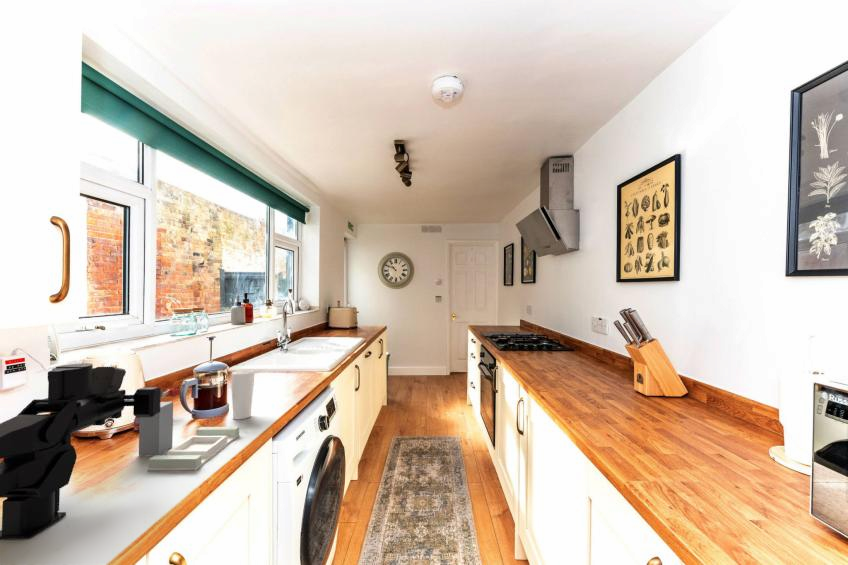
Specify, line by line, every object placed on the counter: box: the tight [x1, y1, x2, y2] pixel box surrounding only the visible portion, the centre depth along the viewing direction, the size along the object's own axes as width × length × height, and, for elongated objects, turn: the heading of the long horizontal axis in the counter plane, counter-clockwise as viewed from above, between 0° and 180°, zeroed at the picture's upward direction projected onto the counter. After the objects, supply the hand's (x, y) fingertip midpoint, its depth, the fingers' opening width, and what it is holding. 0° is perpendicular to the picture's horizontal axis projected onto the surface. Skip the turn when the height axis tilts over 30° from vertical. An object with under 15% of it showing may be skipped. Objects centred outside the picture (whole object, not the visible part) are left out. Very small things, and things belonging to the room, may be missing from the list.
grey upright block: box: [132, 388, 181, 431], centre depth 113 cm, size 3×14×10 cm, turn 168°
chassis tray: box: [147, 426, 240, 471], centre depth 93 cm, size 20×11×2 cm, turn 1°
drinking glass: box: [230, 369, 255, 421], centre depth 118 cm, size 7×7×15 cm
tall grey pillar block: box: [138, 401, 174, 457], centre depth 93 cm, size 5×5×12 cm
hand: (143, 392), depth 89 cm, fingers open, 9 cm apart
